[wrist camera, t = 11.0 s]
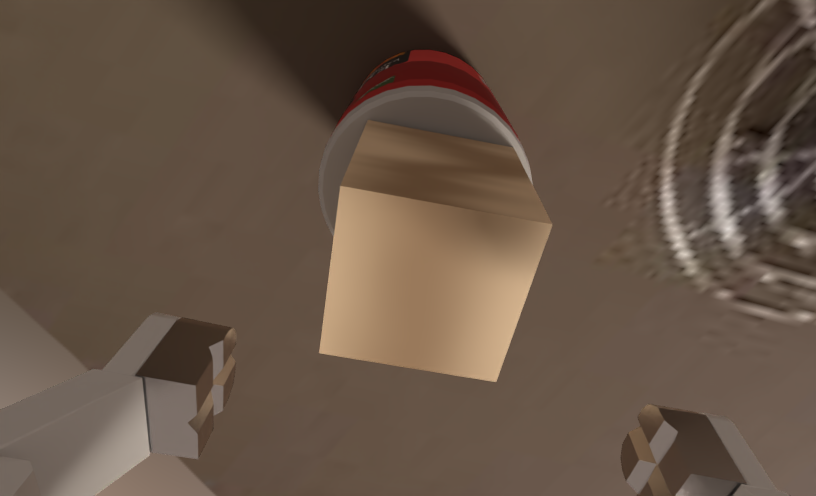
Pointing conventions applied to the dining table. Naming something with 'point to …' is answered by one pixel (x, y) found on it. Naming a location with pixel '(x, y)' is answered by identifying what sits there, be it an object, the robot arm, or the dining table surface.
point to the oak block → (431, 252)
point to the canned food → (415, 112)
